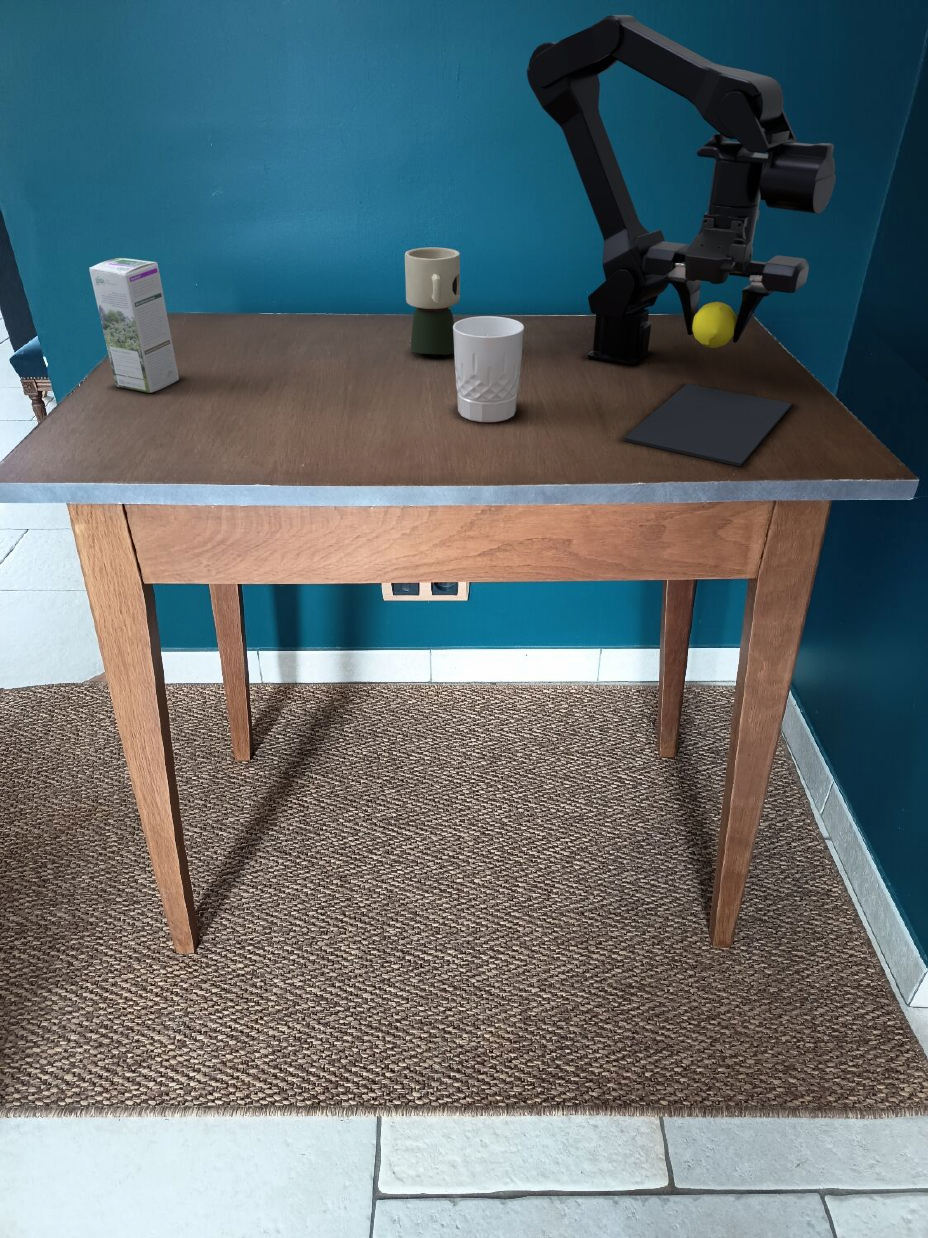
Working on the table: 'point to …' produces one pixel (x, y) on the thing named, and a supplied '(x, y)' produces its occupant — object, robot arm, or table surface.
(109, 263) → the syrup box
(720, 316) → the lemon
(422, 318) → the character mug
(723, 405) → the desk mat
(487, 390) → the white cup
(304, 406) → the table surface
